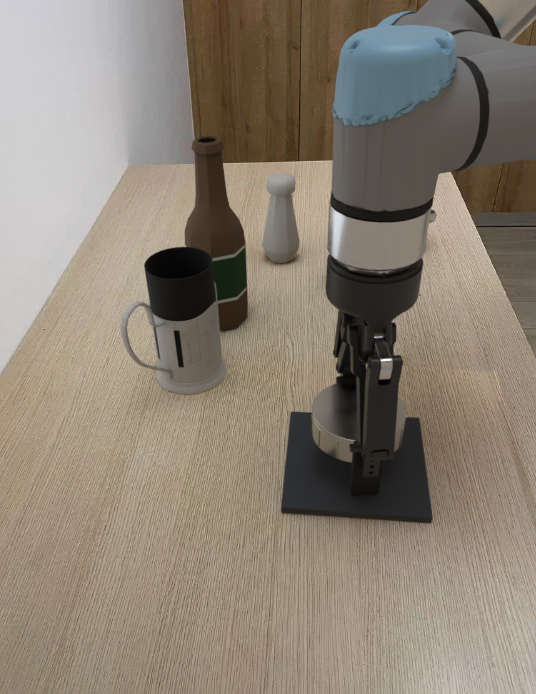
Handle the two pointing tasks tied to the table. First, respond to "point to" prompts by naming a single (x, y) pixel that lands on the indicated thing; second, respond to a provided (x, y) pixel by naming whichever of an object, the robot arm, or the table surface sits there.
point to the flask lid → (343, 420)
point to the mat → (334, 479)
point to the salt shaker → (280, 220)
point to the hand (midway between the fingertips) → (354, 456)
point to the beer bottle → (218, 232)
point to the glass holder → (182, 320)
